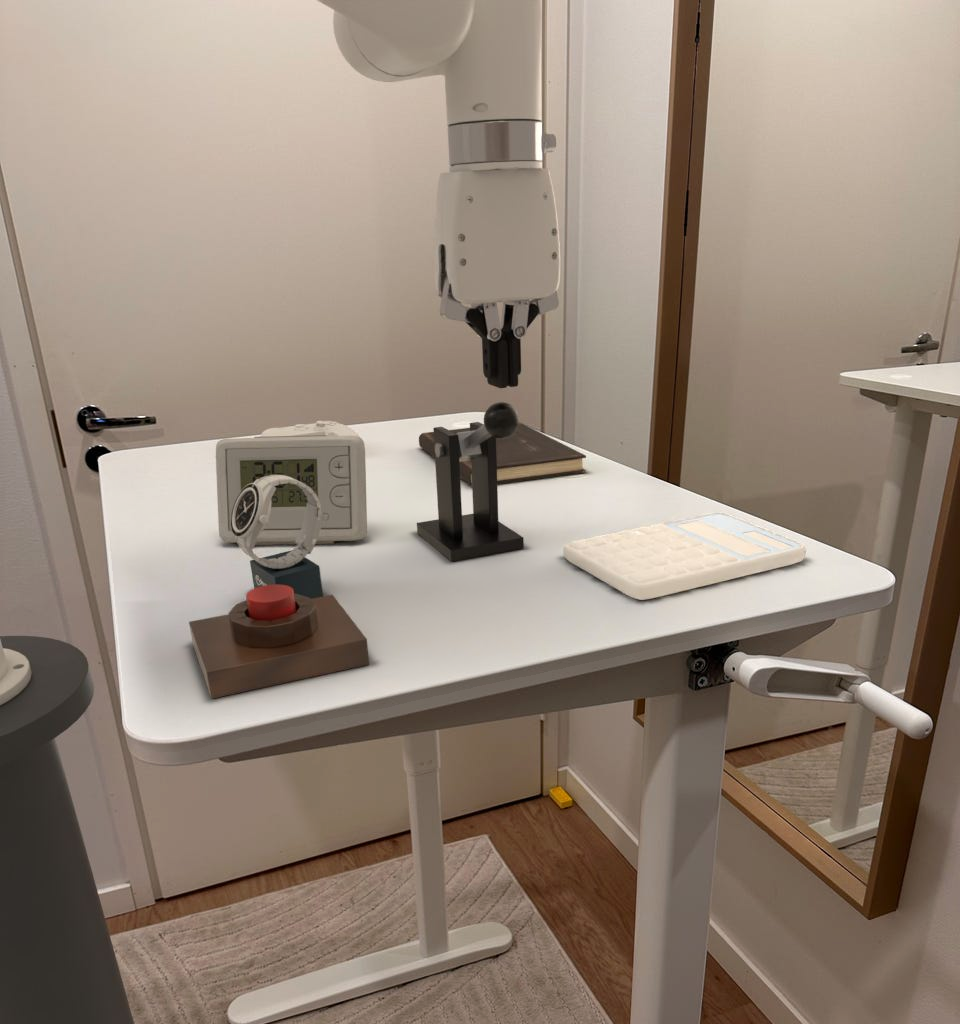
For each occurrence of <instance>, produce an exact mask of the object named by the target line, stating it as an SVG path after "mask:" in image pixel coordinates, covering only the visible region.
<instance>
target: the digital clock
mask: <svg viewBox="0 0 960 1024" xmlns="http://www.w3.org/2000/svg"><path fill="white" fill-rule="evenodd" d="M366 469H367V468H366V447H365V442H364V439H363V438H362V437H361V436H359V437H358V436H326V435H309V436H267V437H261V436H254V437H236V438H234V437H231V438H229V437H228V438H222V439H219V440H218V441H217V443H216V445H215V470H216V471H215V472H216V494H217V495H216V496H217V497H216V498H217V518H218V519H217V520H218V521H217V523H218V534H219V537H220V539H221V541H223V542H225V543H237V540H236V539H235V536H234V535H233V533H232V531H231V514H232V510H233V506H234V503H235V501H236V499H237V497H238V495H239V493H240V492H241V491H242V489H243V488H244V487H245V486H246V485H248V484H250V483H254V482H255V481H256V480H257V479H260V478H262V477H265V476H270V475H285V476H288V477H291V478H293V479H296V480H298V481H300V482H302V483H304V484H306V485H307V486H309V487H310V488H311V489H312V490H313V491H314V492H315V494H316V495H317V497H318V499H319V501H320V505H321V513H322V514H323V519H322V524H321V529H320V533H319V536H318V538H317V541H316V543H315V545H324V544H325V545H334V544H335V543H336V541H337V542H342V541H343V542H347V541H349V542H350V541H351V542H355V541H360V540H363V539H364V538H366V536H367V532H368V513H367V512H368V510H367V509H368V508H367V507H368V506H367V473H366V472H367V471H366ZM274 487H276V490H275V492H274V494H273V496H272V498H271V512H270V516H269V522H268V523H267V524H266V526H265V528H264V530H263V531H262V532H261V534H260V535H259V536H258V537H257V538H256V542H255V546H267V545H268V546H270V545H271V546H275V545H279V546H280V545H297V544H296V543H295V542H296V540H297V538H298V535H299V533H300V531H301V528H302V525H303V521H304V515H305V512H306V511H307V503H308V500H307V496H306V495H305V493H304V492H303V489H301V488H300V487H299V486H297V485H296V484H291V483H286V484H280V483H279V485H276V486H274Z"/></svg>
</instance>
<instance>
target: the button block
mask: <svg viewBox="0 0 960 1024" xmlns="http://www.w3.org/2000/svg"><path fill="white" fill-rule="evenodd" d="M294 598H295V606H296V613H294V614H292V615H290V616H288V617H285V618H281V619H276V620H255V619H252V618H250V617H249V612H248V605H247V599H245V600H243V601H241V602H239V603H236V604H235V605H234V606H233V607H232V608H231V609H230V610H229V611H228V614H223V615H218V616H217V615H216V616H213V617H207V618H202V619H197V620H192V621H188V625H189V629H190V635H191V640H192V647H193V648H194V651H195V652H194V653H195V654H196V658H197V660H198V663H199V666H200V670H201V672H202V675H203V678H204V681H205V684H206V687H207V690H208V692H209V693H208V694H209V695H210V699H212V700H213V699H217V698H221V697H226V696H227V697H228V696H231V695H235V694H240V693H245V692H249V691H254V690H259V689H263V688H268V687H273V686H277V685H282V684H287V683H291V682H295V681H300V680H304V679H310V678H313V677H318V676H323V675H327V674H332V673H337V672H341V671H345V670H350V669H354V668H359V667H365V666H369V665H370V658H369V657H370V655H369V647H368V646H369V645H368V639H367V637H366V636H365V635H364V634H363V632H362V631H361V630H360V628H359V627H358V626H357V624H356V623H355V622H354V620H353V619H352V618H351V616H349V614H348V613H347V611H346V610H345V608H343V606H342V605H341V603H340V602H339V601H338V600H337V598H336V597H335V596H334V594H329V595H323V597H318V598H313V599H311V598H309V597H306V596H302V595H299V594H294Z"/></svg>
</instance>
